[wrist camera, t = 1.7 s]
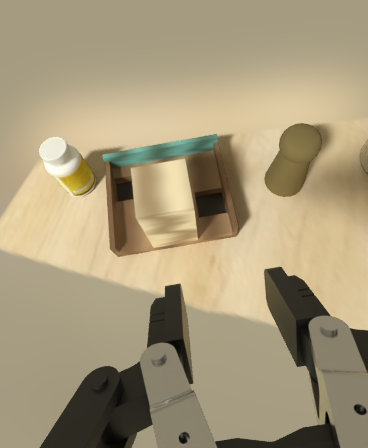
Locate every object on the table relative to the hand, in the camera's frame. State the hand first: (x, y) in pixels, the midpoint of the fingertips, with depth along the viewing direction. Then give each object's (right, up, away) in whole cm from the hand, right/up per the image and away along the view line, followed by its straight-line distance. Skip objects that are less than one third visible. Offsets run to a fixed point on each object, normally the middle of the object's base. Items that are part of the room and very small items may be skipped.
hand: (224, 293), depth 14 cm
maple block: (-4, +3, +30) cm, 30 cm away
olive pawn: (+14, +10, +34) cm, 38 cm away
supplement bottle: (-19, +10, +36) cm, 42 cm away
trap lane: (-4, +7, +33) cm, 34 cm away
